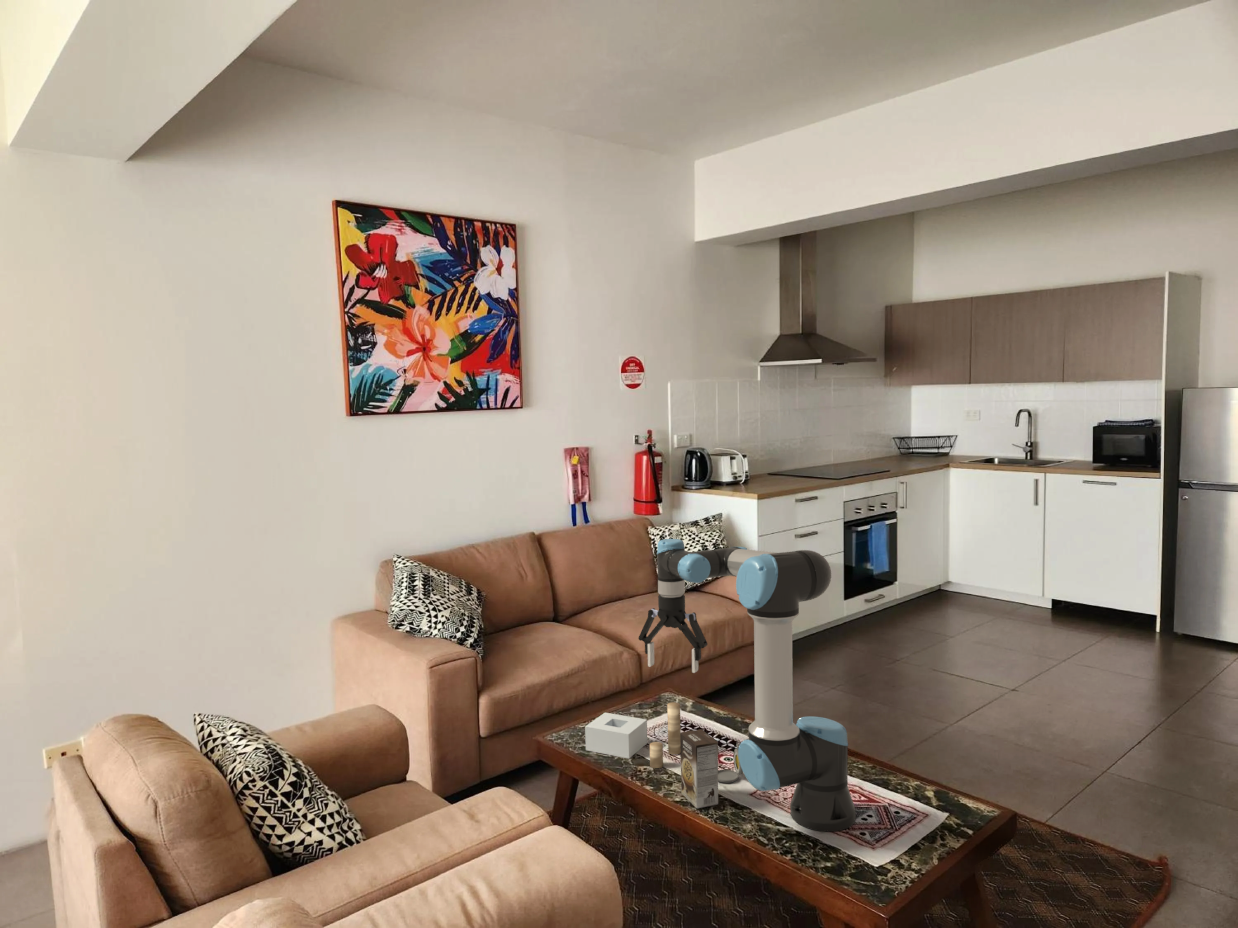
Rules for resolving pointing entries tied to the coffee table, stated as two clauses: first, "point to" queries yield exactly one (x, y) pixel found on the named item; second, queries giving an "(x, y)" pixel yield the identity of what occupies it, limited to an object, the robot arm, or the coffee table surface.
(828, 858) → the coffee table surface
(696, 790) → the coffee box
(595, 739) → the hole block
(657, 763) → the short peg
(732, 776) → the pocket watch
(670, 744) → the tall peg
